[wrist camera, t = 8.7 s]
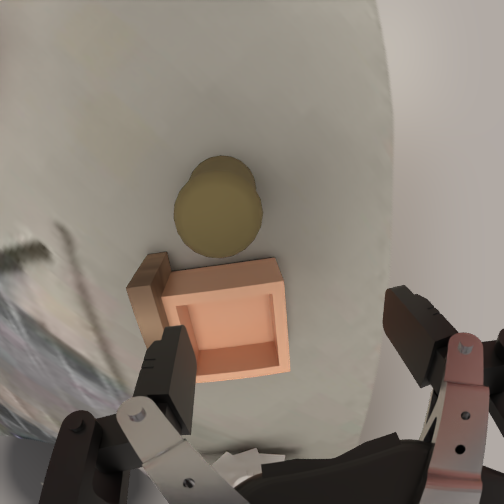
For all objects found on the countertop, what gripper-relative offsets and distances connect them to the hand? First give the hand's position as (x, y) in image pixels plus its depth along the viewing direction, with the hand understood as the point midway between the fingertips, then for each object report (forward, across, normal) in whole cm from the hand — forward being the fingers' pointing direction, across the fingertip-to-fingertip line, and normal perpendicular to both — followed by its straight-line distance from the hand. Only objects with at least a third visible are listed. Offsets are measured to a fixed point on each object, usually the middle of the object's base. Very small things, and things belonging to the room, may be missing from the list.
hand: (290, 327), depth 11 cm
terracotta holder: (+17, +4, +10) cm, 20 cm away
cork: (+17, +3, -2) cm, 18 cm away
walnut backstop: (+17, +10, +9) cm, 22 cm away
